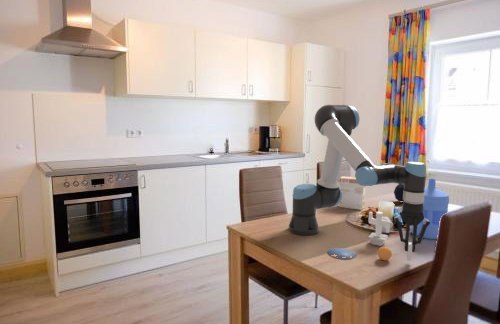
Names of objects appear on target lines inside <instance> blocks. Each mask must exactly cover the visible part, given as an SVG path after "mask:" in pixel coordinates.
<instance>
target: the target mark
mask: <svg viewBox="0 0 500 324" xmlns="http://www.w3.org/2000/svg"><path fill="white" fill-rule="evenodd" d="M328 254H329V255H328ZM334 254H335V255H337V256H336V257H338V258H339V260H349V259H348V258H350V256H352V258H353V259H355V258H356V257H357V253H356V252H355V251H354V250H352V249H350V248H343V247H334V248H333V247H332V248H329V249H328V250H327V255H328V256H330V255H334ZM342 257H346V258H342ZM354 257H355V258H354Z"/></svg>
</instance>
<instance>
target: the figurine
mask: <svg viewBox="0 0 500 324" xmlns="http://www.w3.org/2000/svg"><path fill="white" fill-rule="evenodd" d="M383 213H384V212H382V211H376V212H375V216H376V218H374V217H373V211H369V212H368V224H369V225H373V226H374V225H376V228H375V232H373V231H372V232H371V233H370V234H369V235H368V240H369V241H370V243H371V245H374V246H380V247H383V245H384V243H385V241H386V240H387V238H388V236H389V235H387V234H389V233H390V232H391V230H390V222H389V221H387V220H382V217H384V216H383ZM382 226H385V227H386V232H387V233H386V234H385V233H381V229H382ZM389 231H390V232H389ZM388 232H389V233H388Z"/></svg>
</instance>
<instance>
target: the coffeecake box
mask: <svg viewBox="0 0 500 324" xmlns="http://www.w3.org/2000/svg"><path fill="white" fill-rule="evenodd" d="M339 185H340V186H339V187H340V188H341V190H342V191H341V192H342V199H341V201H340V203H339V204H338V207H339V208H343V209H344V208H345V209H351V210H359V211H363V210H364V209H365V207H366V204H365V203H366V188H367V186H362V185H360V184H358V183H357V181H356V178H355V176H349V175H347V176H346V175H342V176H340V177H339Z"/></svg>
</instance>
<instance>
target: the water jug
mask: <svg viewBox="0 0 500 324" xmlns="http://www.w3.org/2000/svg"><path fill="white" fill-rule="evenodd" d="M436 181H437V179H435V178H428V186H427V187H425V196H424V202H423V204H424V209H423V215H424V218H425V219H427V220H429V221H430V224H429V225H428V226H427V228H426V231H425V233H424V236H423V239H428V240H438V239H437V235H438V228H439V221H440V218H441V216H442V215H443V214H445V213H447V212H448V210H449V204H450V196H449V194H448V193H446V192H444V191H442V190H441V189H438V188H437V187H436V183H437V182H436ZM447 214H448V213H447ZM422 225H423V220H422V221H421V222H420V223H419V224H418V225H417V234H416V237H418V236H419V234H420V231H421V228H422ZM410 231H411V233H412V234H413V225H411V226H410Z"/></svg>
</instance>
